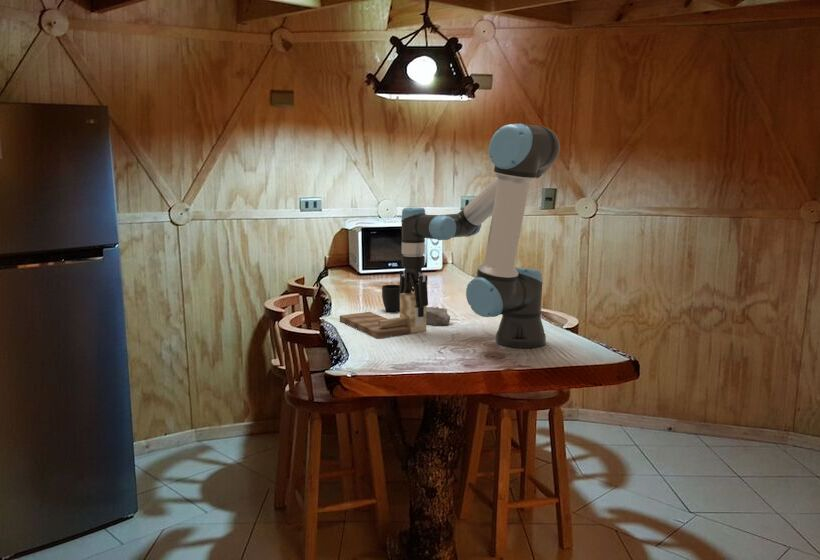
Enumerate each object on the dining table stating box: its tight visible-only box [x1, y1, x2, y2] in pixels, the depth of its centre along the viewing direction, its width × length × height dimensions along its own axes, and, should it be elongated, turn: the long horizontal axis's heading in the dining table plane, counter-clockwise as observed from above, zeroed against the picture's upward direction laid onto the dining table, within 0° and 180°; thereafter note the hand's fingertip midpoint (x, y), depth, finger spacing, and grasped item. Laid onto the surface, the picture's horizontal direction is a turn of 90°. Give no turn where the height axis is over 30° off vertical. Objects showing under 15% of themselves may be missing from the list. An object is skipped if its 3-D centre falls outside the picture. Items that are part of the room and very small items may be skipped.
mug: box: [381, 284, 414, 314], centre depth 235 cm, size 8×12×10 cm
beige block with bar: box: [378, 292, 427, 334], centre depth 203 cm, size 7×16×12 cm, turn 121°
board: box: [339, 311, 411, 339], centre depth 210 cm, size 28×12×2 cm, turn 31°
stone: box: [426, 306, 451, 326], centre depth 215 cm, size 10×8×6 cm
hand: (413, 323), depth 206 cm, fingers closed on beige block with bar, 7 cm apart
